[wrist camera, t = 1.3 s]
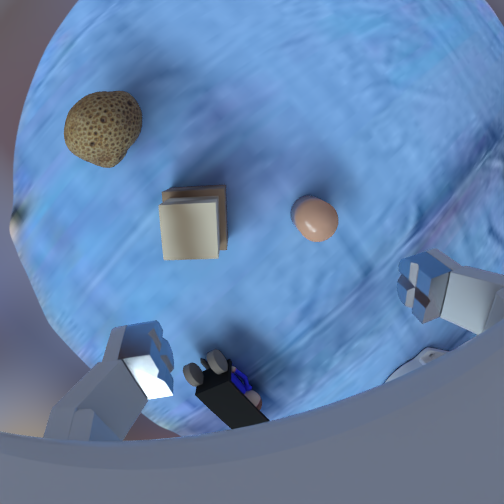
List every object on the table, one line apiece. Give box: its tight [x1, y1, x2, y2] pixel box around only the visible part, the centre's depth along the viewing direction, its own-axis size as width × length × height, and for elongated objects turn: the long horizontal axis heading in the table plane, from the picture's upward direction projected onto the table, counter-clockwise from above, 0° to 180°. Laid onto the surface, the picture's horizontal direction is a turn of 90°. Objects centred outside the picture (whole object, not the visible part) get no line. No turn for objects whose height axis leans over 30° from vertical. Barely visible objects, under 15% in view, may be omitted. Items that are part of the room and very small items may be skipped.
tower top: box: [159, 196, 221, 260], centre depth 30 cm, size 6×6×5 cm
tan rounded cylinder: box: [291, 195, 338, 242], centre depth 36 cm, size 5×5×5 cm
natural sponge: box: [64, 91, 142, 168], centre depth 28 cm, size 9×9×10 cm
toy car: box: [183, 349, 270, 429], centre depth 43 cm, size 7×8×15 cm
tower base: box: [162, 185, 228, 250], centre depth 35 cm, size 7×7×5 cm
